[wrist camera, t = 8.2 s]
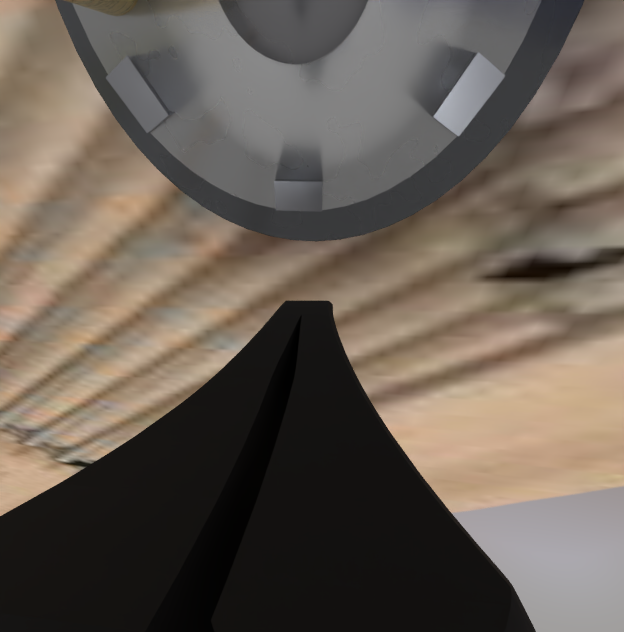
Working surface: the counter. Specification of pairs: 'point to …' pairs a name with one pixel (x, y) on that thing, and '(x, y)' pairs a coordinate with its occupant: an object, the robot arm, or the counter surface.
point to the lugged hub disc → (305, 86)
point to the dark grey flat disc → (387, 206)
